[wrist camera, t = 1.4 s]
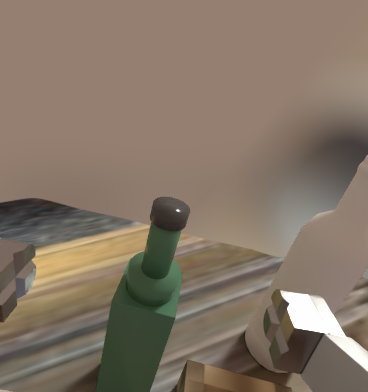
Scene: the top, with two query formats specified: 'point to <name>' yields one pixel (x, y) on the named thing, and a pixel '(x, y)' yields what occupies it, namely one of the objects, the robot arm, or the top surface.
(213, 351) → the top surface
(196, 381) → the oak rest
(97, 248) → the top surface
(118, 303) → the green bottle
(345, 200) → the bottle
